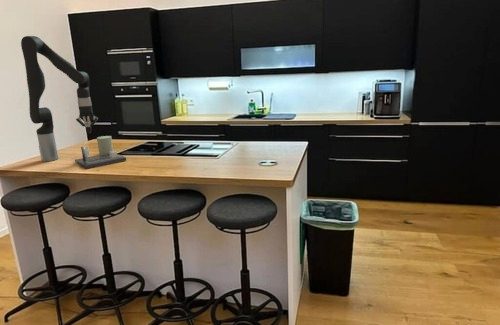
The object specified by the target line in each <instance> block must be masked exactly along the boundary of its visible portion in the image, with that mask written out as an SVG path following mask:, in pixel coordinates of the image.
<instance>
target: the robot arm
mask: <svg viewBox="0 0 500 325" xmlns="http://www.w3.org/2000/svg"><path fill="white" fill-rule="evenodd" d="M20 44H21V45H20V46H21V51H22V55H23V60H24V65H25V66H24V67H25V74H26V81H27V83H26V84H27V89H28V99H29V117H30V120H31V122H32V123H33V124H36V125H38V124H42V125H41V126H40V127H39V128H37V129H36V137H37V142H38V149H39V154H40V160H41V161H42V162H44V163H45V162H51V161H56V160H58V159H59V154H58V149H57V144H56V138H55V133H54V121H53V119H54V118H53V113H52V111H51V109H50V108H49V107H46V106H45V107H40V101H41V97H42V96H43V93H44V92H45V89H46V81H45V75H44V72H43V70H42V68H41V66H40V63H39V61H38V54H40V55H42V56H44V57H45V58H46V59H48V60H49V62H50V63H51V64H52V65H53V66H54V67H55V68H56V69H58V71H60V72H62V73H63V74H65V75H66V76H67V77H68V78H69V79H70V80H72V82H74V83H76V84H78V86H77V88H76V96H77V105H78V106H77V107H78V112H79V115H78V117H77V118H76V119H75V120H76V122H77V123H79V125H80V126H82V127H85V131H86V133H88V134H91V133H92V127H93V126H94V125H95V124H96V122H97V121H98V120H99V117H97V116H95V114H94V111H93V104H92V100H91V95H90V76H89V74H88V73H87V72H85V71H79V70H77V69H76V68H75V66H74V65H73V64H72V63H71V62H69V61H68V60H66V59H65V58H63V57H62V56H60V54H58V53H57V52H55V50H53V49H52V48H51V47H50V46H49V45H47V43H46V42H44V41H43V40H42V38H40V37H38V36H34V35H26V36H23V37H22V38H21V40H20ZM92 120H93V121H92Z"/></svg>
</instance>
